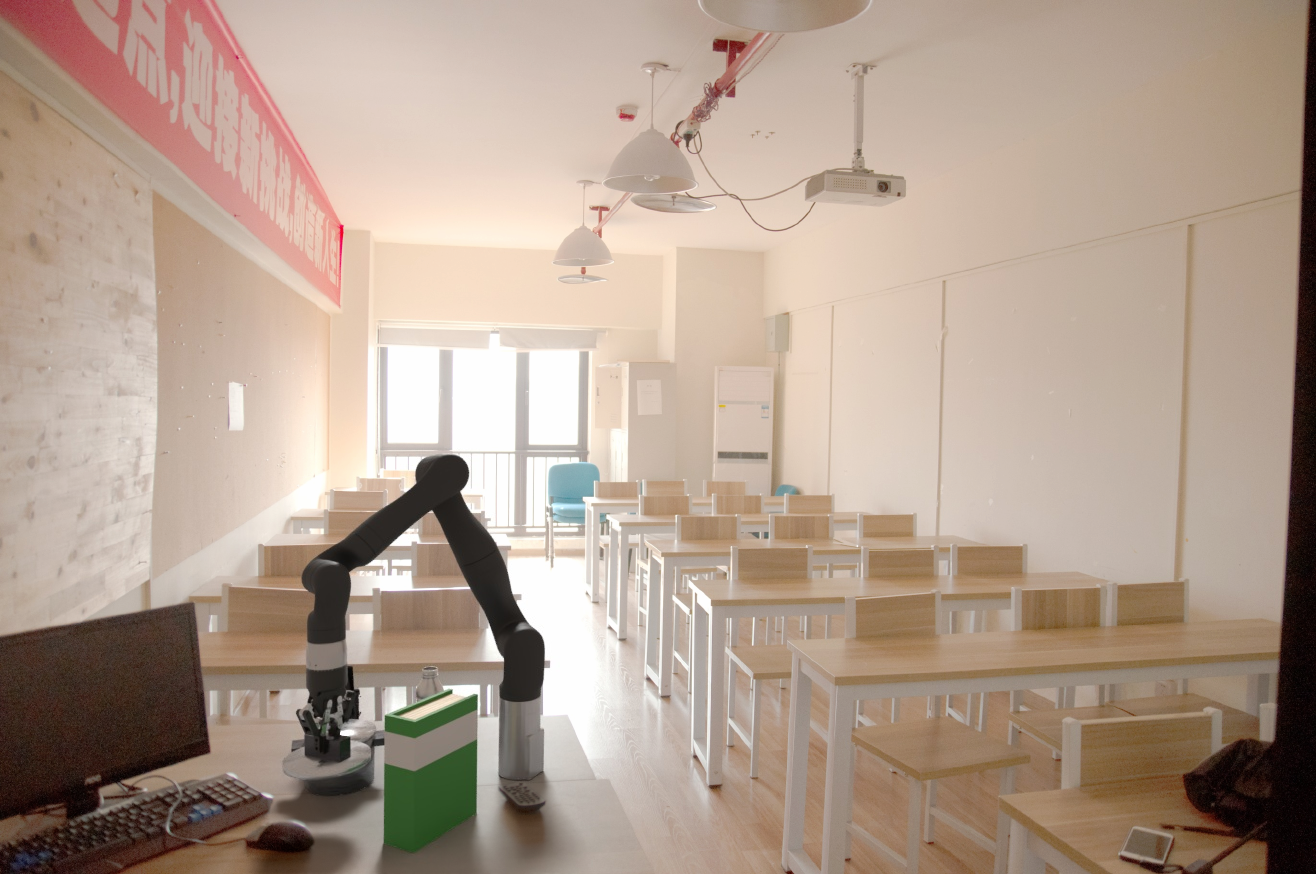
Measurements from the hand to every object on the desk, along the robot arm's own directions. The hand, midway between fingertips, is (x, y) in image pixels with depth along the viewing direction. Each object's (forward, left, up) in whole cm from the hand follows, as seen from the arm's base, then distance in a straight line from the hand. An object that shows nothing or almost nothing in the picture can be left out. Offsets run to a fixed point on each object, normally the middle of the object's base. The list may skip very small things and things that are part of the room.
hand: (327, 750), depth 163 cm
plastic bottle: (+4, -36, -14) cm, 39 cm away
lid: (0, 0, -2) cm, 2 cm away
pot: (+11, -15, -14) cm, 23 cm away
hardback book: (-20, -7, -14) cm, 25 cm away
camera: (+25, -29, -14) cm, 41 cm away
